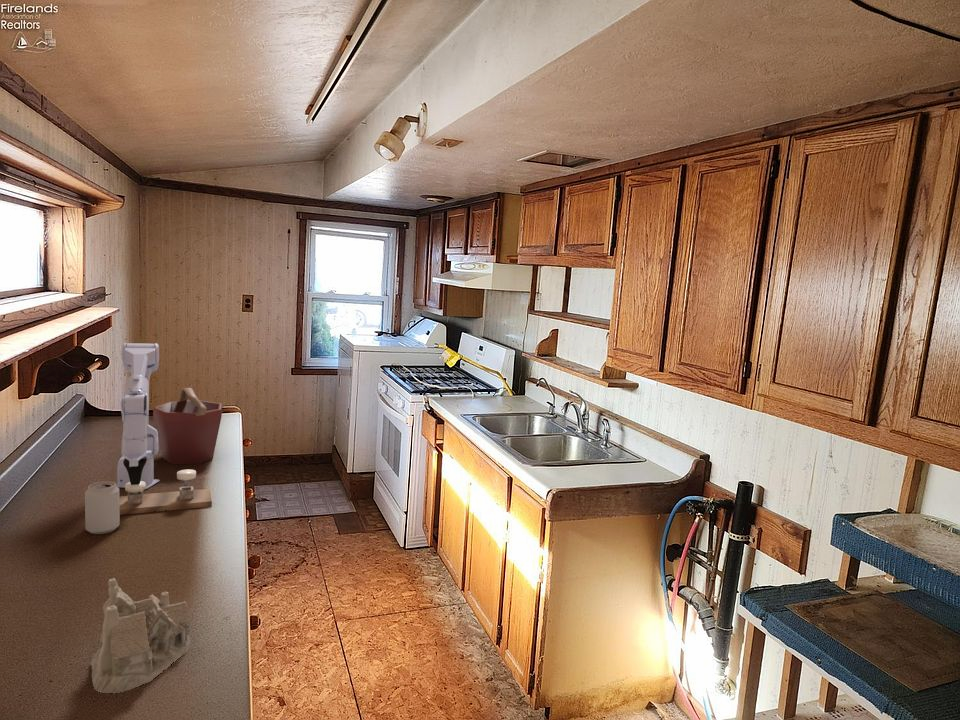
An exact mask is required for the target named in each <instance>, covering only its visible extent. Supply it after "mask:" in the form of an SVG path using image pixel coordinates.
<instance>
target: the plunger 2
mask: <svg viewBox="0 0 960 720" xmlns="http://www.w3.org/2000/svg"><path fill="white" fill-rule="evenodd" d="M196 478H197V471H196V470H195V469H181V470H178V471H177V472H176V479H177V480H180V481H183V487H189V486H190V481H191V480H194V479H196Z"/></svg>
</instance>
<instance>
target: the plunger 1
mask: <svg viewBox="0 0 960 720" xmlns="http://www.w3.org/2000/svg"><path fill="white" fill-rule="evenodd" d="M124 490H125V492H126V493H128V492H133V494H138V492H140V491H143V492H144V491H145V490H147V489H146V483H145V482H144V481H140V484H138V485H131V483H130V482H128V483H126V484H125V488H124Z"/></svg>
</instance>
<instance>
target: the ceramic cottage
mask: <svg viewBox="0 0 960 720" xmlns="http://www.w3.org/2000/svg"><path fill="white" fill-rule="evenodd" d="M107 584H108V595H109V597H108V599H107V600H106V601H105V602H103V605H102V611H103V616H104V618H103V619H104V620H103V624H102V633H101V634H100V638H99V639H100V641H99V642H100V645H99V647H98V649H97V651H96V653H94V654H93V655H92V660H91V663H90V666H92V667H91V675H90V676H91V680H92V681H91V682H92V686H93V687H94V688H93V687H92V688H93V690H94V689H95V690H96V691H95V690H94V691H95V692H97V691H98V692H97V693H99V692H101V693H118V692H121V691H125V690H130V689H131V688H134V687H137V686H139V685H142V684H144V683H147V682H148V681H151V680H152V679H153V678H155V677H156V676H157V675H158V674H160V673H161V672H162V671H163V670H164V669H165V668H166V667H167V666H169V665H171V664H172V663H173V662H174V663H176V662H177V661H178V660H179V659H178V658H180V657H181V656H182V655H183V654H184V655H186V654H187V653H188V652H189V651H190V650H191V648H192V644H191V643H192V640H191V638H190V635H189V633H190V628H191V627H192V625H191V618H190V615H189V607H188V604H187V601H182V602H178V603H172V604H170V596H169V595H170V593H169V592H168V591H162V592H161V594H160V599H159V598H158V597H157V596H155V595H154V594H150V595H149V596H148V598H146V599H142V600H139V601H135V600H133V599H132V597H130V596H129V595H128V594H127V593H126V592H124V591H123V590H122V588H121V587H120V586H119V584H118V582H117V580H116V577H113V578H110V579H108V582H107ZM190 647H191V648H190ZM189 649H190V650H189ZM188 650H189V651H188ZM187 651H188V652H187ZM186 652H187V653H186ZM185 653H186V654H185ZM184 655H183V656H184ZM183 656H182V657H183ZM182 657H181V658H182ZM181 658H180V659H181ZM177 659H178V660H177ZM176 660H177V661H176ZM175 661H176V662H175ZM174 663H173V664H174ZM173 664H172V665H173ZM160 675H161V674H160ZM147 684H148V683H147ZM144 685H145V684H144ZM142 686H143V685H142ZM130 691H131V690H130ZM101 693H100V694H101ZM118 694H119V693H118Z"/></svg>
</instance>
